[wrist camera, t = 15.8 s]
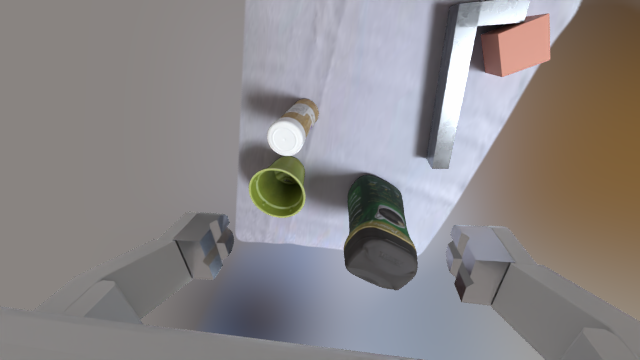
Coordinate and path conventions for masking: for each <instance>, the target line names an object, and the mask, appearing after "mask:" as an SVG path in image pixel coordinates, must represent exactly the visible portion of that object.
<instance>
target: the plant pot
mask: <svg viewBox="0 0 640 360" xmlns="http://www.w3.org/2000/svg"><path fill="white" fill-rule="evenodd" d="M304 177H305V169H304V166H303V165H302V164H301V162H300V161H299V160H298V159H296V158H294V157H291V156H283V157H281V158H279V159H278V160H276V161H275V162H274V163H273V164H272V165H271V166H270V167H268V168H266V169H263V170H260V171H259V172H257V173H256V174H255V175H254V176H253V177H252V179H251V180H250V183H249V194H250V197H251V199H252V201H253V203H254V204H255V205H256V207H257V208H258V209H260V210H261V211H263V212H264V213H266V214H268V215H270V216H274V217H279V218H286V217H290V216H293V215H295V214H297V213H298V212H299V211H300V210H301V209H302V208H303V206H304V203H305V197H306V196H305V190H304V187H303V185H304ZM285 180H289V181H291V182H286V181H285Z"/></svg>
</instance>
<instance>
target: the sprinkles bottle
mask: <svg viewBox="0 0 640 360" xmlns="http://www.w3.org/2000/svg"><path fill="white" fill-rule="evenodd" d="M318 114H319V112H318V108H317V106H316V105H315V104H314V102H312V101H311V100H308V99H301V100H299V101H297V102H296V103H295V104H294V106H292V107H291V108H290V109H289V110H288V111H287V112H286V113H285V114H284V115H283V116H282V117H281V118H280V119H278V120H276V121H275V122H274V123H273V124H272V125H271V126H270V128H269V130H268V133H267V140H268V143H269V145H270V147H271V148H272V149H273V150H274V151H275V152H276V153H278V154H280V155H283V156H291V155H294V154H296V153H297V152H299V151H300V149H301V148H302V146H303V144H304V142H305V138H306V136H307V135H308V133H309V132H310V130H311V128H312V127H313V125H314V123H315V122H316V121H317V119H318Z"/></svg>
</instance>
